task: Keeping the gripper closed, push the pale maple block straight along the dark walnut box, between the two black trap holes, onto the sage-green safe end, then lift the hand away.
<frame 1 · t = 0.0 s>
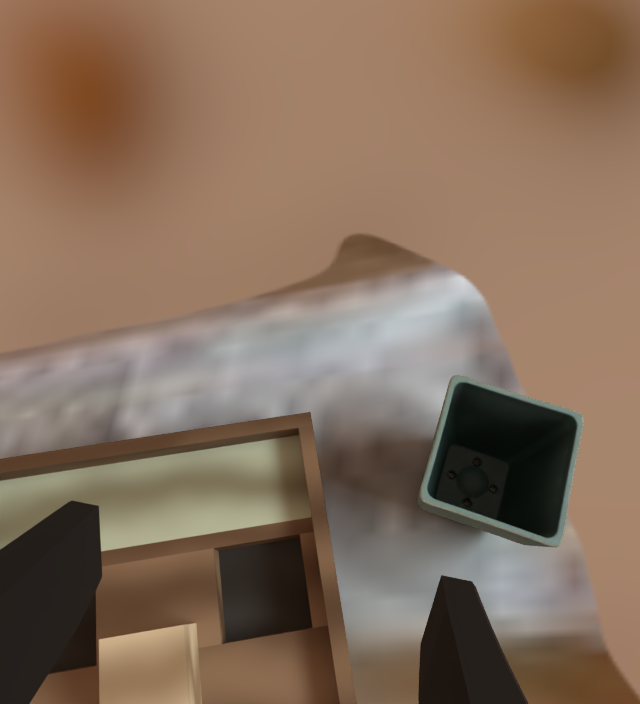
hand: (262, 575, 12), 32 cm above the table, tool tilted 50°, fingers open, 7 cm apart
maple block: (160, 672, 38), point 2 cm above the table, touching walnut box
walnut box: (167, 636, 41), on the table
flower pot: (469, 483, 45), on the table
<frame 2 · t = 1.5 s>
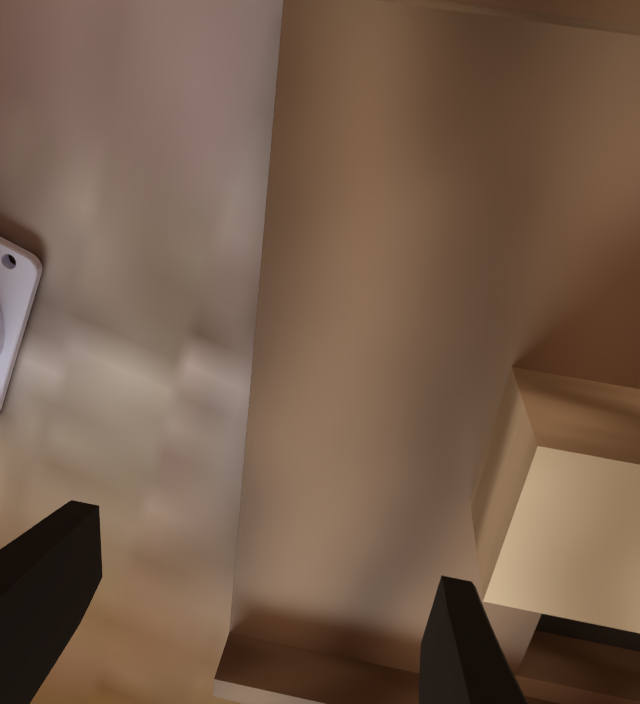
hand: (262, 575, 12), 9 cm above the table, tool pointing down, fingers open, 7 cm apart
maple block: (572, 454, 18), point 2 cm above the table, touching walnut box
walnut box: (614, 422, 20), on the table
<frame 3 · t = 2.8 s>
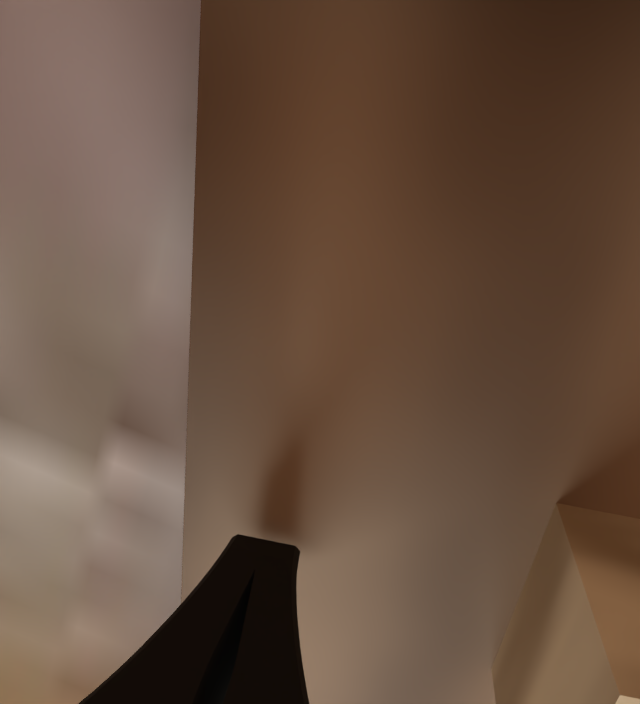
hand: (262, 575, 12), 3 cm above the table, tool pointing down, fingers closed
maple block: (639, 617, 13), point 2 cm above the table, touching walnut box
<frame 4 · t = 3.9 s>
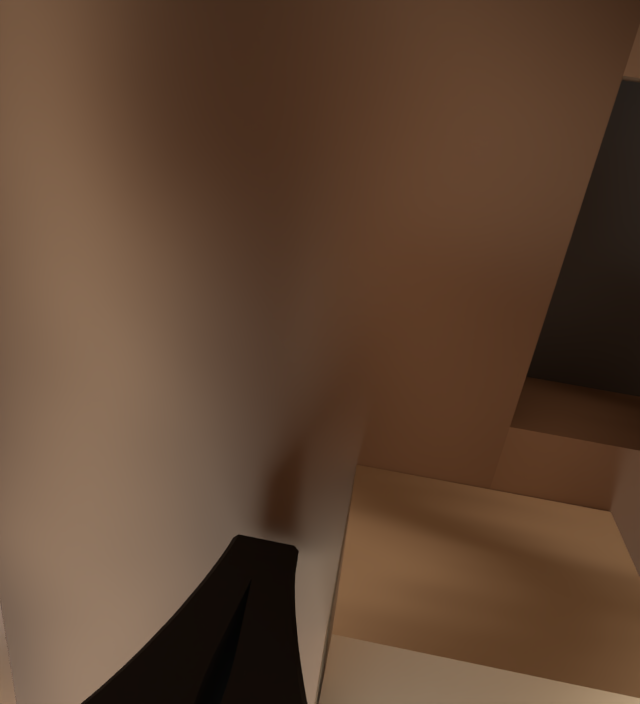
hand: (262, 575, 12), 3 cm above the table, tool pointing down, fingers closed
maple block: (453, 578, 13), point 3 cm above the table, touching gripper
walnut box: (492, 512, 15), on the table
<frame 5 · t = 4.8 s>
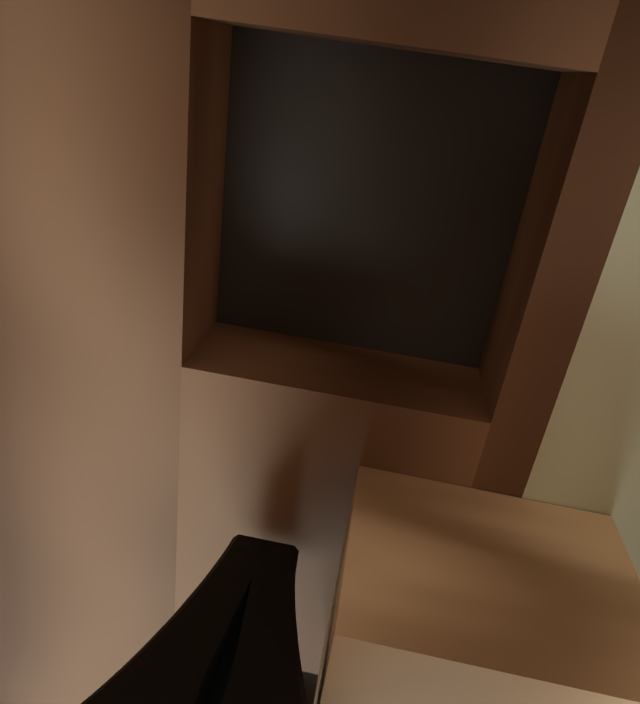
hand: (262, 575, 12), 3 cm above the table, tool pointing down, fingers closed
maple block: (453, 580, 13), point 3 cm above the table, touching gripper
walnut box: (248, 465, 15), on the table
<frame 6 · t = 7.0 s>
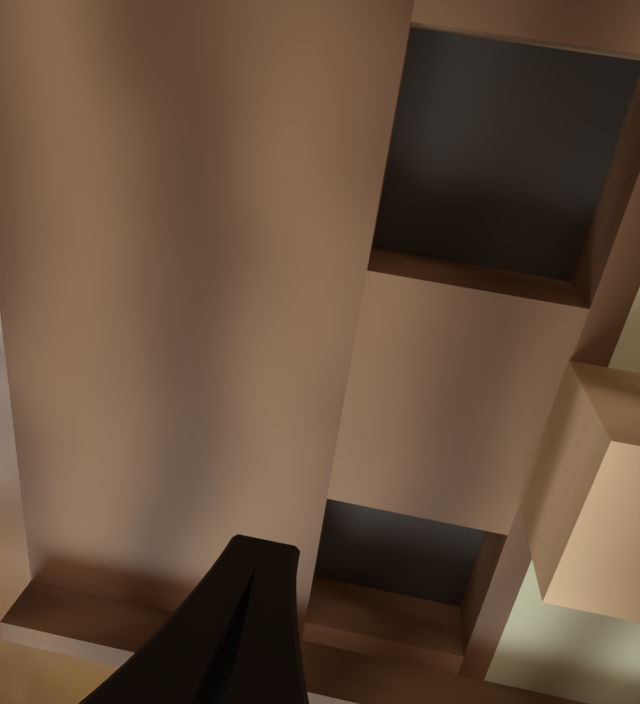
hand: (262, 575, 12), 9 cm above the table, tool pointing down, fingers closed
maple block: (627, 451, 17), point 2 cm above the table, touching walnut box
walnut box: (381, 365, 20), on the table
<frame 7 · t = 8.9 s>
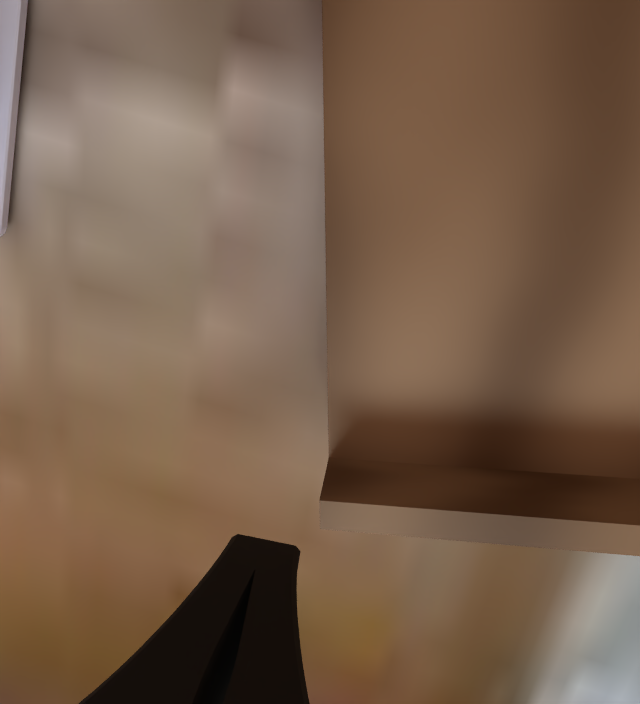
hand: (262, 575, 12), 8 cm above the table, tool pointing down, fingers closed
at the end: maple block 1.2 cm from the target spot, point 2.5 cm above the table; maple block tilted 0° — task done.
